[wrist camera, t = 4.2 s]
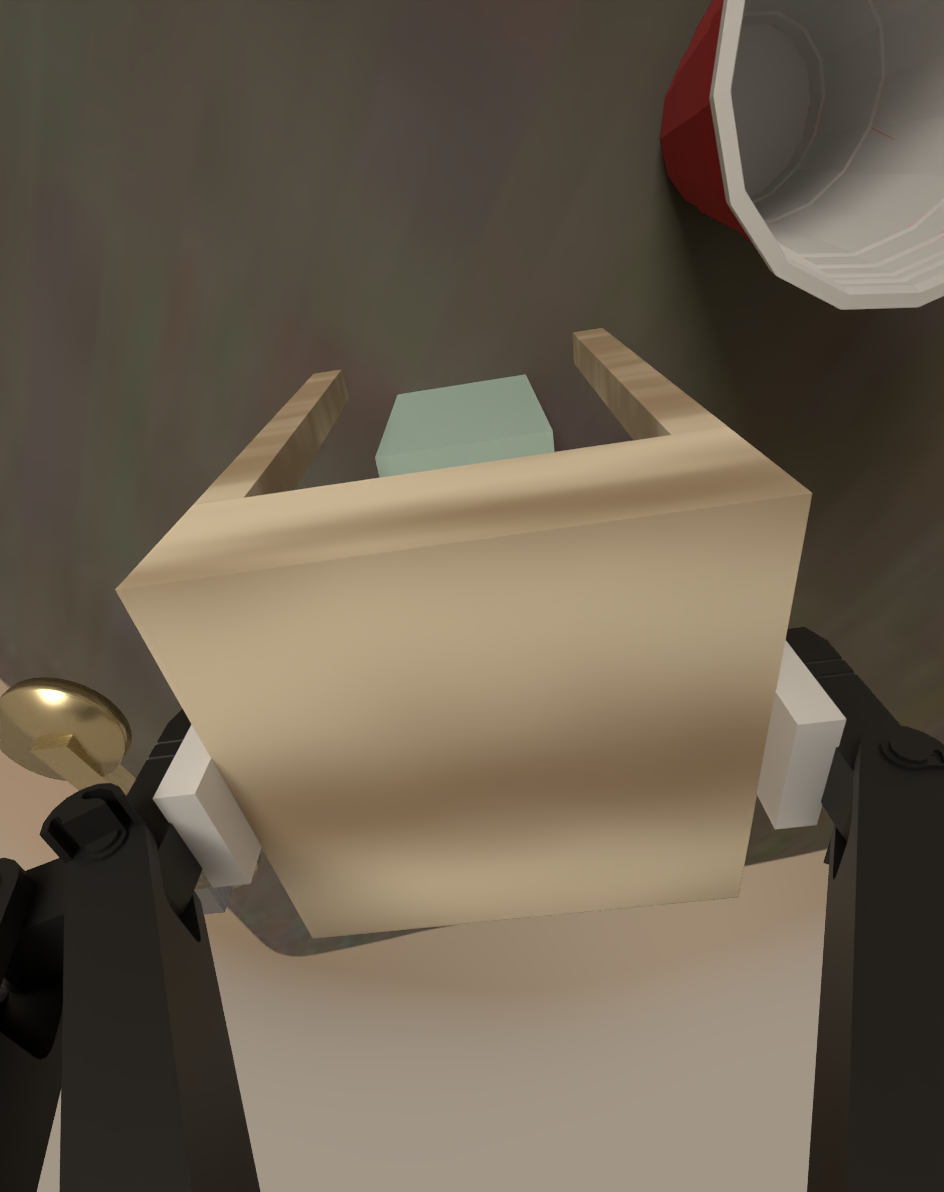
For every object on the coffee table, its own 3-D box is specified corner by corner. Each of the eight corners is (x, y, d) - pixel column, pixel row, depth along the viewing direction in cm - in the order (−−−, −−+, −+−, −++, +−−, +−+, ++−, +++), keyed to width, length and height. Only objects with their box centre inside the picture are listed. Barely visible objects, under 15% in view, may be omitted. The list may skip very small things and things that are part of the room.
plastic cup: (869, 246, 25) (1161, 257, 14) (611, 307, 26) (712, 358, 15) (916, -136, 19) (1450, -564, 9) (583, -38, 20) (713, -318, 10)
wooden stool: (313, 373, 20) (115, 589, 9) (602, 327, 20) (812, 493, 8) (379, 609, 26) (312, 938, 14) (608, 578, 25) (738, 897, 13)
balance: (145, 510, 30) (-83, 713, 17) (258, 493, 30) (109, 688, 17) (244, 718, 38) (136, 964, 25) (335, 706, 37) (272, 950, 25)
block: (397, 394, 27) (374, 457, 20) (525, 374, 27) (553, 430, 19) (422, 512, 31) (410, 605, 23) (536, 495, 30) (564, 584, 23)
